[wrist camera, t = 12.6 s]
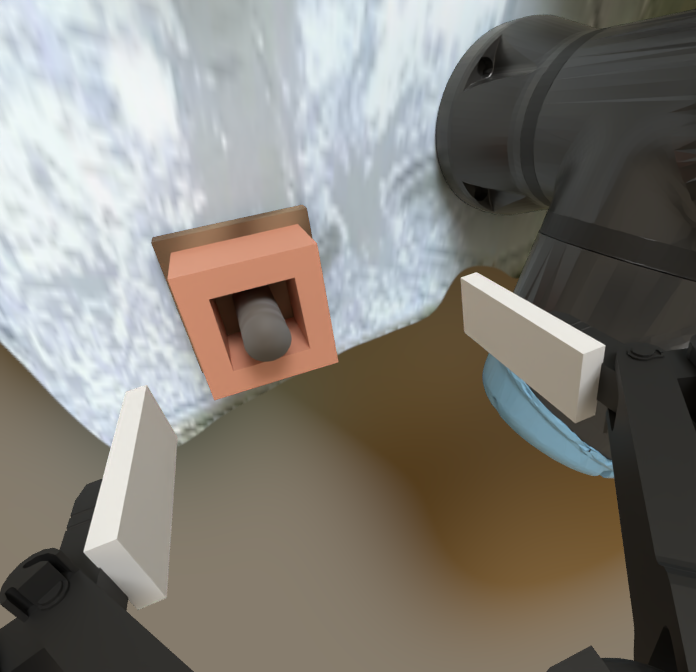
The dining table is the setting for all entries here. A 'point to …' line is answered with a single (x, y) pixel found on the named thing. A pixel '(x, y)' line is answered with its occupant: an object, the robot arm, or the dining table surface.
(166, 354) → the dining table surface
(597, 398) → the robot arm
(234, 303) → the post stand
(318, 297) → the collar
